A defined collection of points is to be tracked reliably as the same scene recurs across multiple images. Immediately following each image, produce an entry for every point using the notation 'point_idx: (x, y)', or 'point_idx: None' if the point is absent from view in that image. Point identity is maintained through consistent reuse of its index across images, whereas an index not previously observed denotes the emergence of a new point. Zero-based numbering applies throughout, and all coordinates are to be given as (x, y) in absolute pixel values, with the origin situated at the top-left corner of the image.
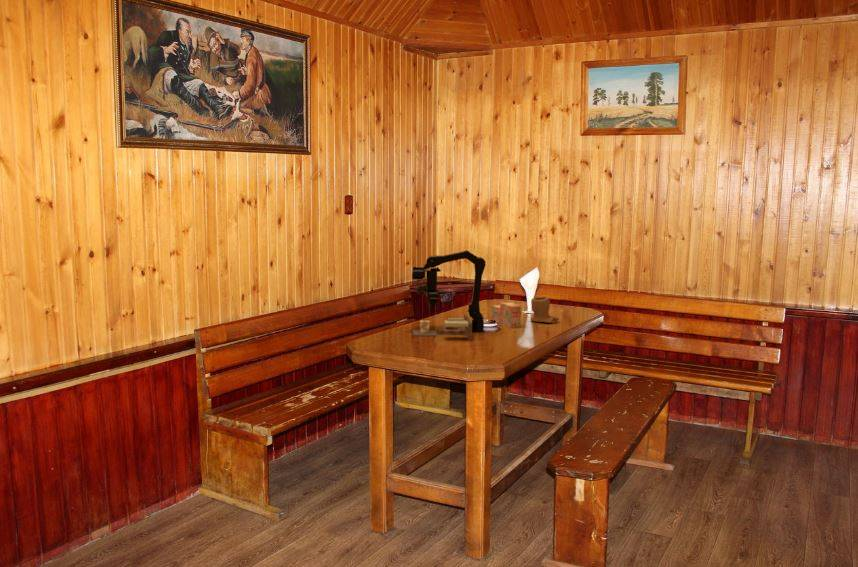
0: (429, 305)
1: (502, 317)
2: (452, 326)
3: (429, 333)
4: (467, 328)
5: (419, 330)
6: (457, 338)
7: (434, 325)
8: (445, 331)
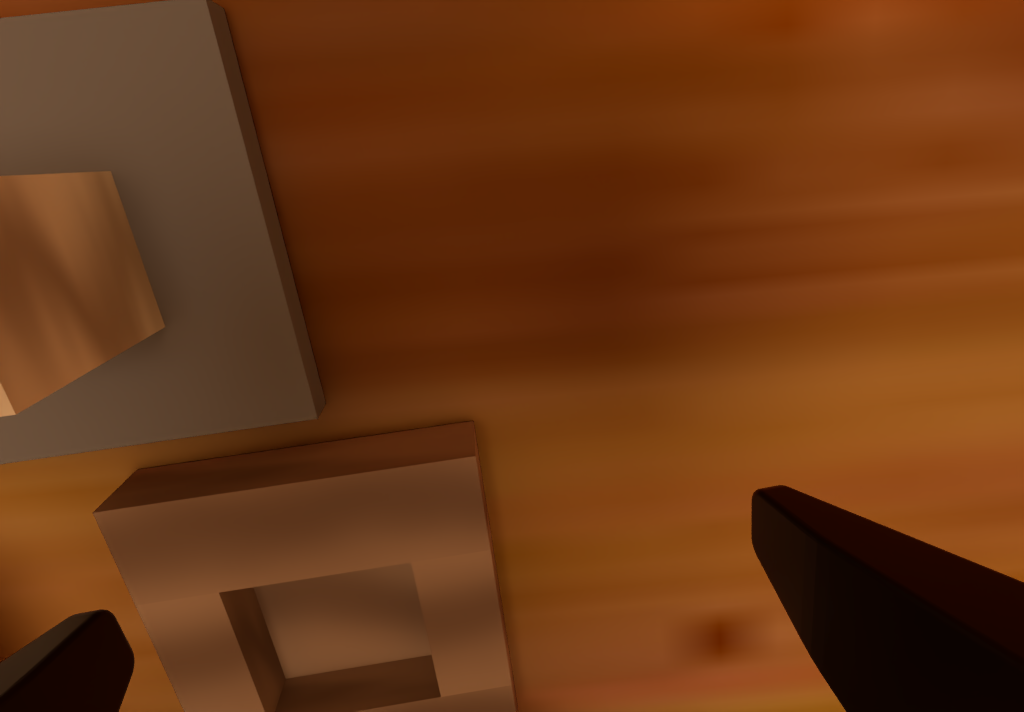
0: (800, 523)
1: None
2: (482, 640)
3: None
4: None
5: (212, 147)
6: None
7: (849, 341)
8: (137, 584)
